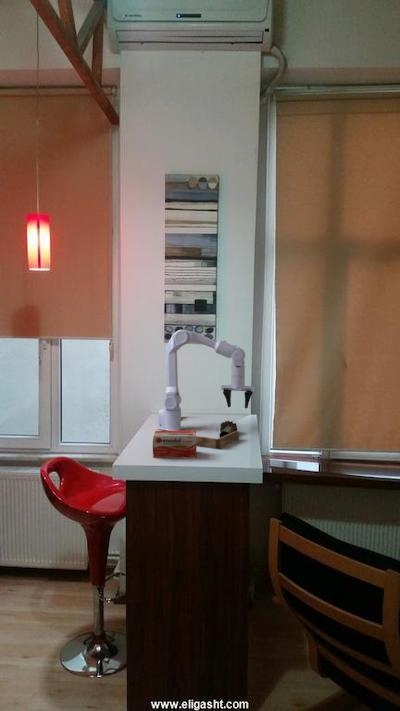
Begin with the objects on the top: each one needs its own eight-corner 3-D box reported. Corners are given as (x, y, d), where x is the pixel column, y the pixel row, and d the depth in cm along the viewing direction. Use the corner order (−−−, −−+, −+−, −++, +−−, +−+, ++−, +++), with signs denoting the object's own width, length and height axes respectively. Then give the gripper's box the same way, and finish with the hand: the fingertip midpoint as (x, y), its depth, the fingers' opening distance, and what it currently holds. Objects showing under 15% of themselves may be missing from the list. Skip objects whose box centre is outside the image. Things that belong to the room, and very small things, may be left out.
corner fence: (188, 444, 187) (188, 435, 187) (209, 435, 203) (209, 427, 203) (218, 449, 181) (219, 439, 181) (238, 439, 196) (238, 430, 196)
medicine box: (152, 458, 169) (152, 435, 169) (154, 452, 177) (154, 430, 177) (196, 458, 169) (196, 435, 169) (196, 452, 177) (196, 430, 177)
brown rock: (231, 442, 193) (231, 428, 193) (214, 441, 195) (214, 427, 195) (238, 432, 210) (238, 419, 210) (223, 431, 212) (223, 418, 212)
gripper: (219, 376, 209) (218, 407, 210) (252, 377, 204) (251, 410, 205) (224, 374, 216) (223, 405, 216) (256, 376, 211) (255, 407, 211)
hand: (237, 407), depth 211 cm, fingers open, 7 cm apart
